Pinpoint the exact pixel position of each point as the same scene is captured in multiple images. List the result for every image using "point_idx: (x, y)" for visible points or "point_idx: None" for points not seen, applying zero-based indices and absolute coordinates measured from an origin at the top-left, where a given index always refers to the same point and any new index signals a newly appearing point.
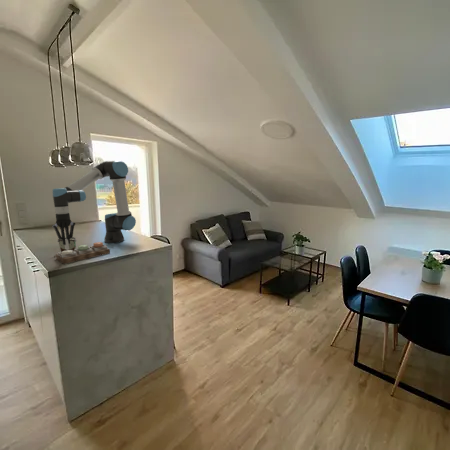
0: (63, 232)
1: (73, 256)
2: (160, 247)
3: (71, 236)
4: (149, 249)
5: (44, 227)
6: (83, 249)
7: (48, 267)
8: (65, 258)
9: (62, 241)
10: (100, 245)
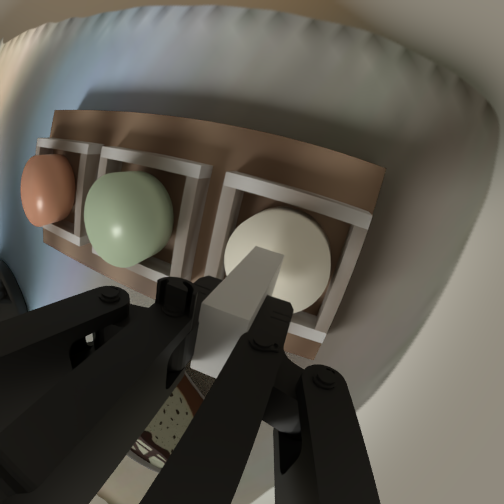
0: (194, 482)
1: (286, 152)
2: (5, 44)
3: (106, 297)
4: (19, 42)
5: None
6: (147, 177)
7: (476, 206)
8: (367, 166)
9: (167, 448)
10: (47, 154)
